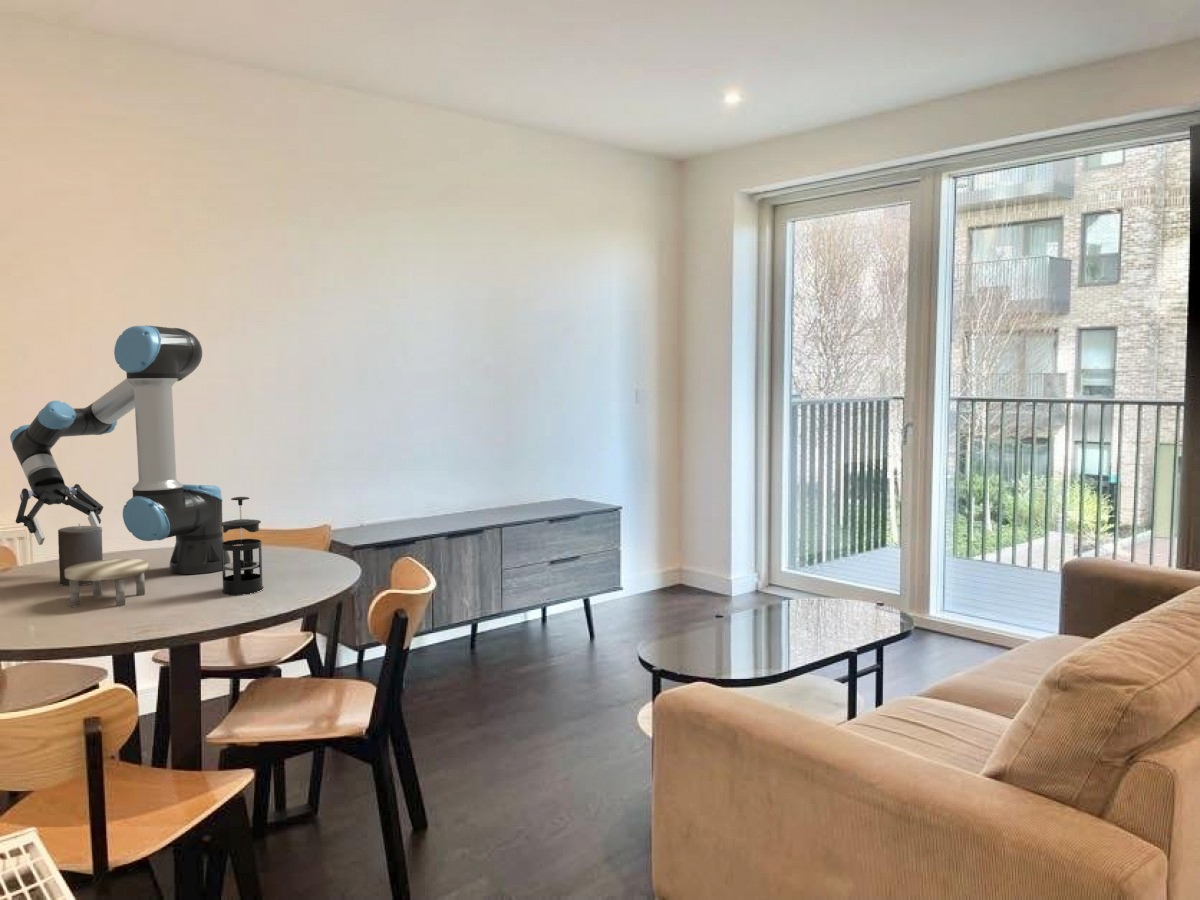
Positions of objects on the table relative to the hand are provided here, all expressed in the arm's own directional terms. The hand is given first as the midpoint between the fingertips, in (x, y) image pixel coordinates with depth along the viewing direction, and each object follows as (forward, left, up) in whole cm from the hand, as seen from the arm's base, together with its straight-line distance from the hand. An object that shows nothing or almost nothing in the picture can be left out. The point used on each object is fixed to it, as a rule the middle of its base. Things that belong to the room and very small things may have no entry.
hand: (71, 537), depth 223 cm
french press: (-47, +14, -11) cm, 51 cm away
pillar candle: (-3, +2, -11) cm, 12 cm away
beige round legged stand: (-19, +22, -11) cm, 31 cm away
